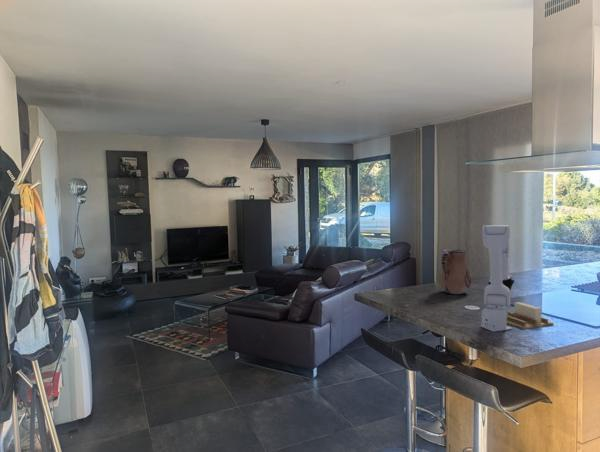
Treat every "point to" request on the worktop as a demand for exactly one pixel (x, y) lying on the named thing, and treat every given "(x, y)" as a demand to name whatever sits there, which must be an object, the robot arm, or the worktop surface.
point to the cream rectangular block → (528, 311)
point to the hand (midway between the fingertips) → (501, 296)
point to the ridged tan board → (525, 321)
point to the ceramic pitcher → (454, 272)
